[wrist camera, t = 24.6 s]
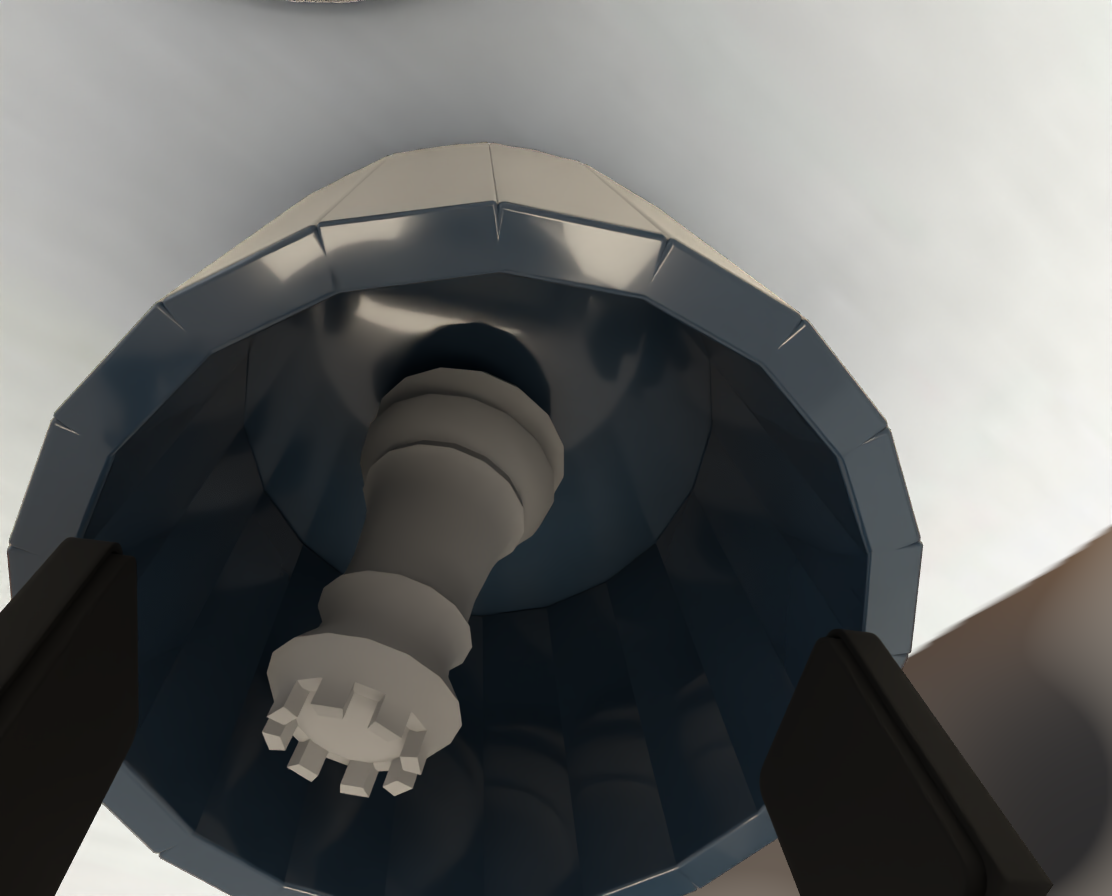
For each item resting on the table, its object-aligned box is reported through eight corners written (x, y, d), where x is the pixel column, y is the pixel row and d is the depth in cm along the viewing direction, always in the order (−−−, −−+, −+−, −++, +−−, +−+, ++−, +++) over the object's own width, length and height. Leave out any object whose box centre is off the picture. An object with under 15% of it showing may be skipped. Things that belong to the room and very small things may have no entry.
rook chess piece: (605, 473, 18) (541, 807, 12) (458, 531, 20) (338, 842, 14) (492, 321, 16) (345, 627, 10) (341, 403, 18) (142, 699, 12)
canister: (227, 83, 16) (-37, 90, 8) (806, 208, 18) (1076, 318, 10) (208, 596, 21) (37, 927, 13) (662, 647, 23) (762, 960, 15)
